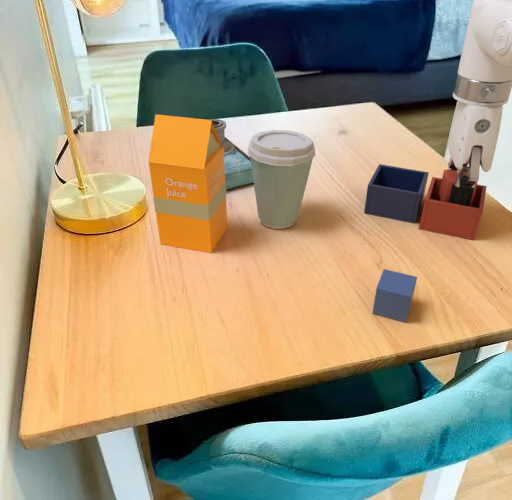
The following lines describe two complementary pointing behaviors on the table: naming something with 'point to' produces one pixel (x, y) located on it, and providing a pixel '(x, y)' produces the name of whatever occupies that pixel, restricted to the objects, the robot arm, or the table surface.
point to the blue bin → (396, 193)
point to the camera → (233, 159)
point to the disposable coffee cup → (280, 174)
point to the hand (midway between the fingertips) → (455, 198)
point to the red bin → (451, 213)
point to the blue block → (394, 295)
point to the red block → (450, 185)
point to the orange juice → (188, 182)
